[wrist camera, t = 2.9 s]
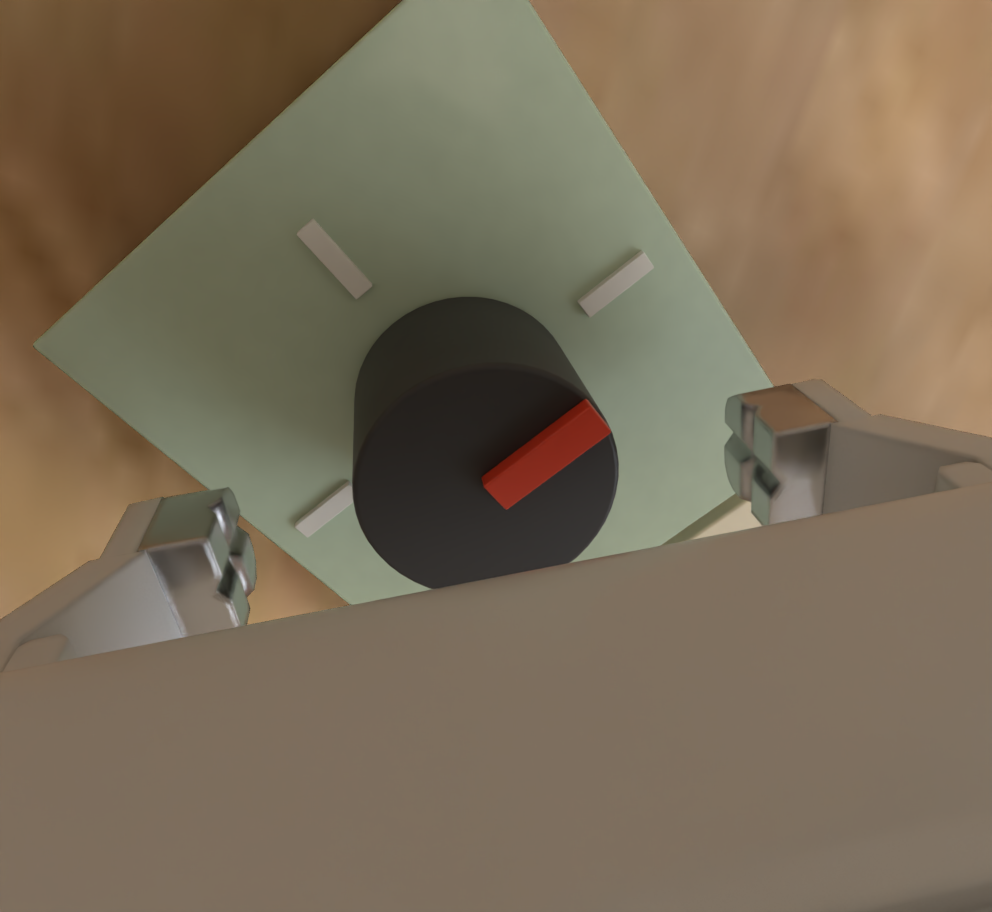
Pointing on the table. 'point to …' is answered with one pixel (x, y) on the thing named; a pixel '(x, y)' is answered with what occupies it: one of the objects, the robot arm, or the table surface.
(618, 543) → the dial panel
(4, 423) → the table surface
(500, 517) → the dial
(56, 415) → the table surface
